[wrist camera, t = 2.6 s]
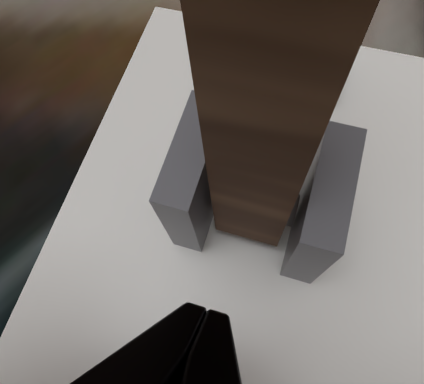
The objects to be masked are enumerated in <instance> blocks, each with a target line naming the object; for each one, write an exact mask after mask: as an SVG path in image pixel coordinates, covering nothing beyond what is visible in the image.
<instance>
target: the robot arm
mask: <svg viewBox="0 0 424 384" xmlns="http://www.w3.org/2000/svg"><path fill="white" fill-rule="evenodd" d="M70 384H242V381H241V375H240V370H239V365H238V359H237V354H236V349H235V344H234V338H233V333H232V328H231V323H230V318H229V316H228V315H227V314H225V313H222V312H219V311H216V310H212V309H209V310H208V311H207V310H206V308H205V307H203V306H200V305H197V304H193V303H190V302H186V303H184V304H183V305H181V306H180V307H178V308H177V309H175V310H174V311H173V312H171V313H170V314H168V315H167V316H165V317H164V318H163V319H161V320H160V321H158V322H157V323H155V324H154V325H153V326H151V327H150V328H148V329H147V330H145V331H144V332H143V333H141V334H140V335H138V336H137V337H135V338H134V339H133V340H131V341H130V342H128V343H127V344H125V345H124V346H123V347H121V348H120V349H118V350H117V351H115V352H114V353H113V354H111V355H110V356H108V357H107V358H105V359H104V360H103V361H101V362H100V363H98V364H97V365H95V366H94V367H93V368H91V369H90V370H88V371H87V372H85V373H84V374H83V375H81V376H80V377H78V378H77V379H75V380H74V381H73V382H71V383H70Z"/></svg>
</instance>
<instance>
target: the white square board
mask: <svg viewBox="0 0 424 384" xmlns="http://www.w3.org/2000/svg"><path fill="white" fill-rule="evenodd" d="M299 195H300V200H299V204H298V208H297V212H296V216H295V219H294V222H293V225H292V227H290V226H285V229H284V231H283V233H282V236H281V238H280V241H279V243H278V245H277V246H273V245H269V244H266V243H262V242H259V241H255V240H252V239H248V238H245V237H241V236H237V235H234V234H230V233H227V232H223V231H220V230H216V228H215V221H214V215H213V208H212V204H211V195H210V189H209V183H208V176H207V170H206V163H205V157H204V150H203V144H202V138H201V131H200V125H199V118H198V112H197V105H196V99H195V92H194V86H193V80H192V73H191V67H190V60H189V54H188V47H187V41H186V35H185V28H184V22H183V15H182V12H181V11H176V10H171V9H165V8H160V7H155V9H154V11H153V13H152V15H151V17H150V20H149V22H148V24H147V26H146V28H145V30H144V32H143V35H142V37H141V39H140V41H139V43H138V45H137V47H136V49H135V52H134V54H133V56H132V58H131V60H130V62H129V64H128V66H127V69H126V71H125V73H124V75H123V77H122V79H121V81H120V84H119V86H118V88H117V90H116V92H115V94H114V96H113V98H112V101H111V103H110V105H109V107H108V109H107V111H106V113H105V116H104V118H103V120H102V122H101V124H100V126H99V128H98V130H97V133H96V135H95V137H94V139H93V141H92V143H91V145H90V148H89V150H88V152H87V154H86V156H85V158H84V160H83V162H82V165H81V167H80V169H79V171H78V173H77V175H76V177H75V179H74V182H73V184H72V186H71V188H70V190H69V192H68V194H67V197H66V199H65V201H64V203H63V205H62V207H61V209H60V211H59V214H58V216H57V218H56V220H55V222H54V224H53V226H52V229H51V231H50V233H49V235H48V237H47V239H46V241H45V243H44V246H43V248H42V250H41V252H40V254H39V256H38V258H37V261H36V263H35V265H34V267H33V269H32V271H31V273H30V275H29V278H28V280H27V282H26V284H25V286H24V288H23V290H22V293H21V295H20V297H19V299H18V301H17V303H16V305H15V307H14V310H13V312H12V314H11V316H10V318H9V320H8V322H7V324H6V327H5V329H4V331H3V333H2V335H1V337H0V384H70V383H71V382H73V381H74V380H75V379H77V378H78V377H80V376H81V375H83V374H84V373H85V372H87V371H88V370H90V369H91V368H93V367H94V366H95V365H97V364H98V363H100V362H101V361H103V360H104V359H105V358H107V357H108V356H110V355H111V354H113V353H114V352H115V351H117V350H118V349H120V348H121V347H123V346H124V345H125V344H127V343H128V342H130V341H131V340H133V339H134V338H135V337H137V336H138V335H140V334H141V333H143V332H144V331H145V330H147V329H148V328H150V327H151V326H153V325H154V324H155V323H157V322H158V321H160V320H161V319H163V318H164V317H165V316H167V315H168V314H170V313H171V312H173V311H174V310H175V309H177V308H178V307H180V306H181V305H183V304H184V303H186V302H190V303H193V304H197V305H200V306H203V307H205V308H206V310H207V311H208V310H209V309H212V310H216V311H219V312H222V313H225V314H227V315H228V316H229V318H230V323H231V328H232V333H233V338H234V344H235V349H236V354H237V359H238V365H239V370H240V375H241V381H242V384H424V58H421V57H416V56H411V55H406V54H400V53H395V52H390V51H385V50H379V49H374V48H369V47H364V46H360V49H359V51H358V54H357V56H356V58H355V61H354V63H353V66H352V68H351V70H350V73H349V75H348V77H347V80H346V82H345V85H344V87H343V89H342V92H341V94H340V97H339V99H338V101H337V104H336V106H335V109H334V111H333V113H332V116H331V118H330V121H329V123H328V125H327V128H326V130H325V133H324V135H323V137H322V140H321V142H320V145H319V147H318V149H317V152H316V154H315V157H314V159H313V161H312V164H311V166H310V169H309V171H308V173H307V176H306V178H305V181H304V183H303V185H302V188H301V190H300V193H299Z"/></svg>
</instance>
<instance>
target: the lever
mask: <svg viewBox="0 0 424 384" xmlns="http://www.w3.org/2000/svg"><path fill="white" fill-rule="evenodd" d="M379 1H380V0H180V2H181V9H182V15H183V22H184V28H185V35H186V41H187V47H188V54H189V60H190V67H191V73H192V80H193V86H194V92H195V99H196V105H197V112H198V118H199V125H200V131H201V138H202V144H203V150H204V157H205V163H206V170H207V176H208V183H209V189H210V195H211V204H212V208H213V215H214V221H215V228H216V230H220V231H223V232H227V233H230V234H234V235H237V236H241V237H245V238H248V239H252V240H255V241H259V242H262V243H266V244H269V245H273V246H277V245H278V243H279V241H280V238H281V236H282V233H283V231H284V229H285V226H290V227H292V225H293V222H294V219H295V216H296V212H297V208H298V204H299V200H300V195H299V193H300V190H301V188H302V185H303V183H304V181H305V178H306V176H307V173H308V171H309V169H310V166H311V164H312V161H313V159H314V157H315V154H316V152H317V149H318V147H319V145H320V142H321V140H322V137H323V135H324V133H325V130H326V128H327V125H328V123H329V121H330V118H331V116H332V113H333V111H334V109H335V106H336V104H337V101H338V99H339V97H340V94H341V92H342V89H343V87H344V85H345V82H346V80H347V77H348V75H349V73H350V70H351V68H352V66H353V63H354V61H355V58H356V56H357V54H358V51H359V49H360V46H361V44H362V42H363V39H364V37H365V34H366V32H367V30H368V27H369V25H370V22H371V20H372V18H373V15H374V13H375V10H376V8H377V6H378V3H379Z"/></svg>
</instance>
